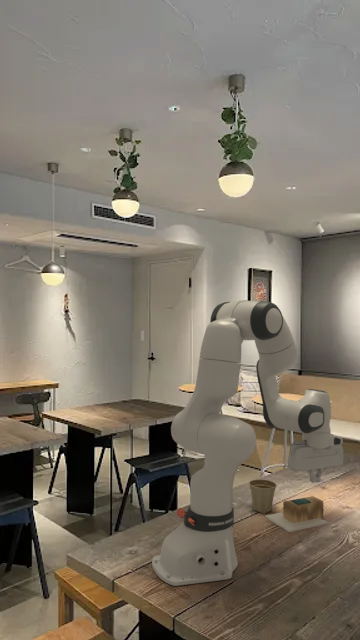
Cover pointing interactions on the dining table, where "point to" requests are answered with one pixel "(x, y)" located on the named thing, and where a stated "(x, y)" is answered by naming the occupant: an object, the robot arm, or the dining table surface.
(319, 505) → the oak block
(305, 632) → the dining table surface
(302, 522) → the white board
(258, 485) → the flower pot
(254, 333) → the robot arm
